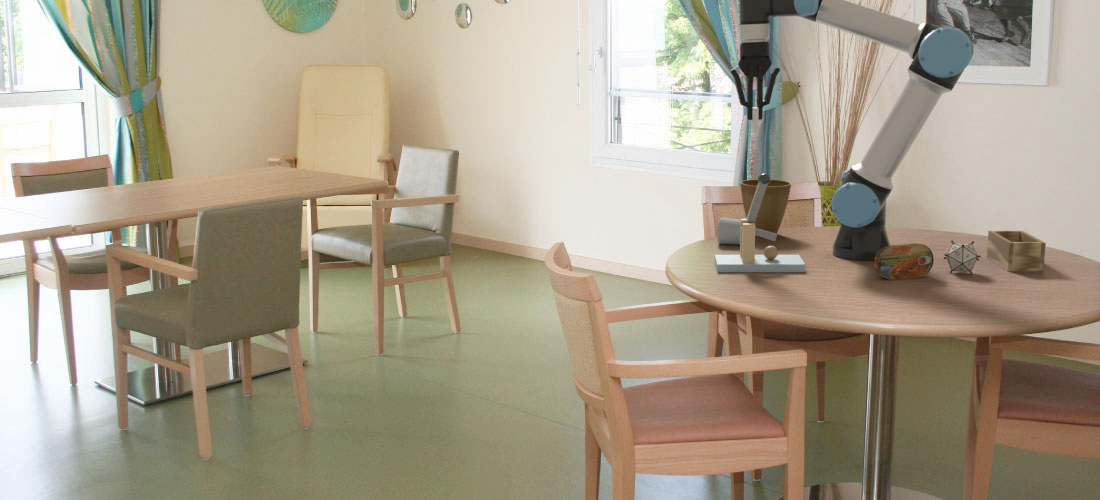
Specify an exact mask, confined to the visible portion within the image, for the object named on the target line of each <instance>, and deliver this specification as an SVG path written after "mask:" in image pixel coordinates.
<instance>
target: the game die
mask: <svg viewBox="0 0 1100 500" xmlns="http://www.w3.org/2000/svg"><path fill="white" fill-rule="evenodd" d="M950 242H951V246H950V248H949V250H948V252H947V253H945V254H944V257H943V259H944V260H946V261H947V263H948V265H949V268H950V271H949V274H952V273H953V272H963V273H965V272H966V273H967V272H968V273H970V275H973V274H974V272H973V269H974V267H975V264H976V263H977V261H980V258H981V257H982V256H981V255H980V254H979V255H978V254H977V251H976V249H975V247H974V244H975V240H972V241H971V242H969V243H968V242H967V243H966V242H965V243H964V242H954V241H953V239H951V240H950Z"/></svg>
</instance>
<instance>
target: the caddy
mask: <svg viewBox="0 0 1100 500" xmlns="http://www.w3.org/2000/svg"><path fill="white" fill-rule="evenodd" d="M987 234H988V235H987V249H986V258H987V259H988V260H990V261H992V262H993V263H995V264H996V265H997V266H999V267H1000V268H1001V269H1003V270H1005V271H1007V272H1044V271H1045V270H1044V269H1045V268H1044V267H1045V266H1044V265H1045V255H1046V244H1047V243H1046V242H1044V241H1043V240H1041V239H1039V238H1037V237H1035V236H1033V235H1032V234H1030V233H1028V232H1026V231H1025V230H988V233H987Z"/></svg>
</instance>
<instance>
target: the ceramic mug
mask: <svg viewBox="0 0 1100 500" xmlns="http://www.w3.org/2000/svg"><path fill="white" fill-rule="evenodd" d="M740 229H741V219H738V218H737V219H736V218H727V217H720V219H719V221H718V227H717V243H718V245H733V246H734V245H735V246H740Z"/></svg>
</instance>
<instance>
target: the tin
mask: <svg viewBox="0 0 1100 500" xmlns="http://www.w3.org/2000/svg"><path fill="white" fill-rule="evenodd" d="M934 260H935V258H934V253H933V251H932V250H931V248H930V247H929V246H928V245H926V244H924V243H923V244H922V243H906V244H895V245H894V244H892V245H891V244H890V246H885V247H883V248H881V249H880V250H879V251H878V252H877V254H876V255H875V259H874V261H873V265H874V270H875V271H876V274H877V275H878V276H880V277H881V278H883V279H886V280H890V281H897V280H906V279H907V280H908V279H919V278H923V277H925V276H927V274H929V273H930V271H931V270H932V268H933V266H934V263H935V262H934Z"/></svg>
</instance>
